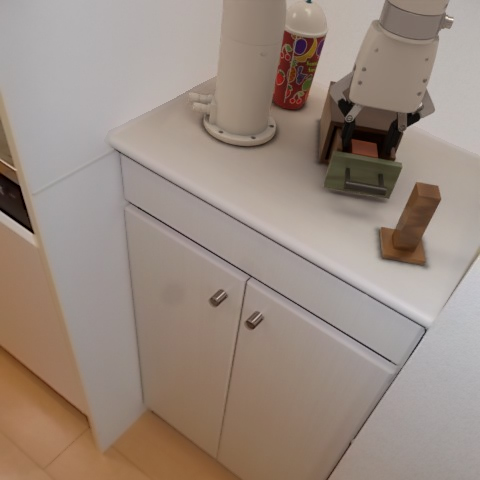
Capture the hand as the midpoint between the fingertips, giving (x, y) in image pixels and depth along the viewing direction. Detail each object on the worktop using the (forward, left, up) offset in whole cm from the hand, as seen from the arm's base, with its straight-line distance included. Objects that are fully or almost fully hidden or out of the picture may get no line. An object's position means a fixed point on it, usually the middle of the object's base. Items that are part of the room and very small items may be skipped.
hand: (366, 145), depth 80 cm
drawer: (0, -1, -6) cm, 6 cm away
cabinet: (0, +10, -6) cm, 12 cm away
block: (0, 0, -4) cm, 4 cm away
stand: (+7, -15, -6) cm, 17 cm away
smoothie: (-12, +22, -7) cm, 26 cm away
